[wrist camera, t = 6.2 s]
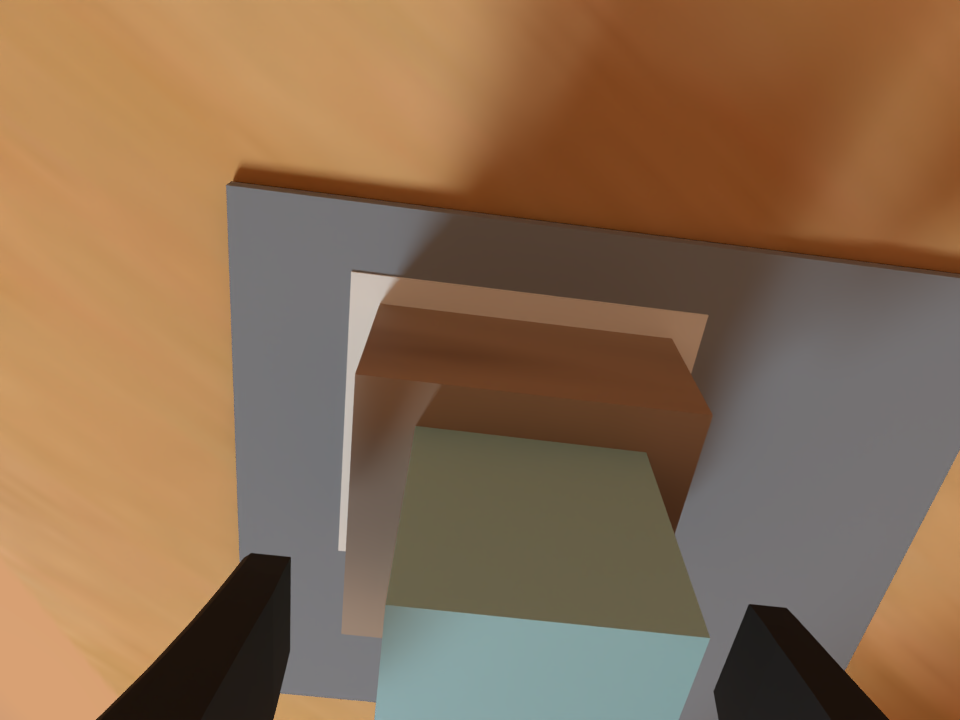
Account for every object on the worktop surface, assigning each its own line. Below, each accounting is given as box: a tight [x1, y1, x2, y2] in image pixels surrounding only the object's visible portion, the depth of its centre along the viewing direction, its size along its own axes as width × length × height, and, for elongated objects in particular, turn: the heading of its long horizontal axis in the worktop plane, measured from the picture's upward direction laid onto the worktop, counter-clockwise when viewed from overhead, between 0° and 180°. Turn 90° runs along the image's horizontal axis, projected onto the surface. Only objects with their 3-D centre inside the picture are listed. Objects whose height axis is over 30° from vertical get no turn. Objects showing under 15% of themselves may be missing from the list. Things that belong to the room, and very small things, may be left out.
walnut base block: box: [341, 304, 713, 638], centre depth 15 cm, size 6×6×3 cm
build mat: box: [226, 181, 960, 720], centre depth 17 cm, size 14×16×1 cm
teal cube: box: [375, 426, 710, 720], centre depth 11 cm, size 4×4×4 cm
